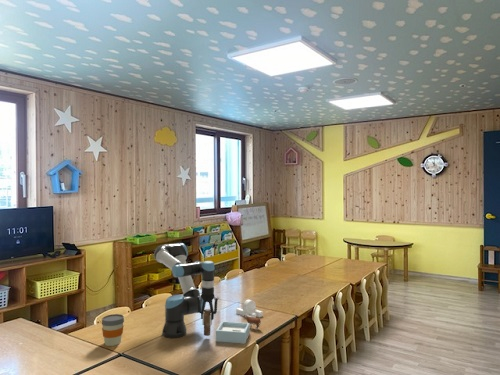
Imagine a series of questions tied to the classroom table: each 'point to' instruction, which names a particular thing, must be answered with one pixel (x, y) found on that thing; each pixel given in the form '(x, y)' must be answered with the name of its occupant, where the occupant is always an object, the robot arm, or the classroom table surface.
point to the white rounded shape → (249, 309)
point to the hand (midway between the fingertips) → (207, 324)
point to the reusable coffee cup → (112, 329)
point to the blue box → (232, 332)
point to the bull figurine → (253, 320)
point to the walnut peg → (207, 322)
